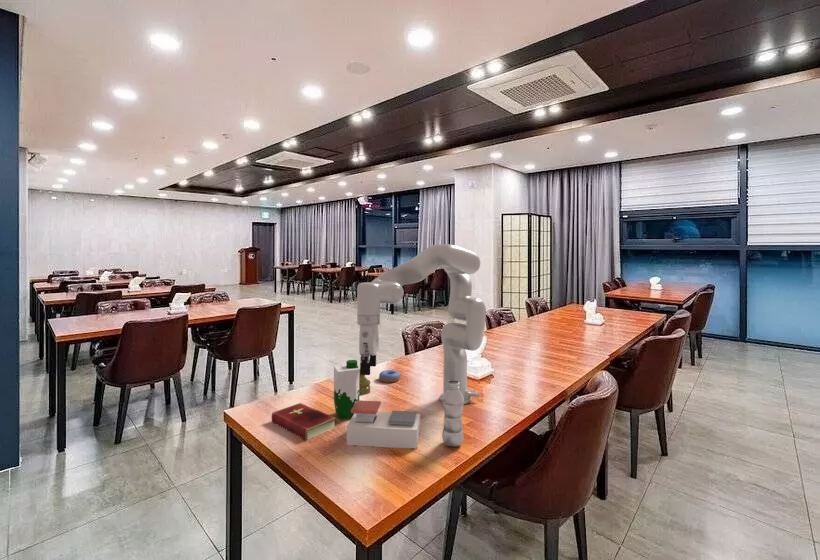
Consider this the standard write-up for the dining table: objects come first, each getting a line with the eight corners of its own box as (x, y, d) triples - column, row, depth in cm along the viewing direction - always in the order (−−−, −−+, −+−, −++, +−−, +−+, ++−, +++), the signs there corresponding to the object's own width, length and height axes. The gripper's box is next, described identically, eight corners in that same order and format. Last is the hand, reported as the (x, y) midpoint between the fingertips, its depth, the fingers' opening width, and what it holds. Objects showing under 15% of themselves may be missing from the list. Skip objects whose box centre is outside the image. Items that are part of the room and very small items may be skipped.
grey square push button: (416, 430, 128) (416, 411, 128) (414, 442, 120) (414, 422, 120) (392, 429, 129) (392, 410, 129) (388, 441, 121) (388, 421, 121)
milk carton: (362, 417, 141) (361, 363, 139) (337, 421, 137) (336, 366, 136) (355, 408, 149) (355, 357, 147) (332, 412, 145) (331, 360, 144)
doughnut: (404, 380, 180) (403, 370, 180) (385, 385, 175) (384, 375, 175) (394, 376, 189) (393, 367, 189) (375, 381, 184) (374, 372, 183)
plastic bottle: (440, 439, 124) (440, 378, 122) (461, 438, 124) (461, 378, 123) (443, 450, 118) (444, 385, 116) (465, 449, 118) (466, 385, 117)
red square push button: (380, 420, 129) (380, 401, 129) (376, 431, 121) (376, 411, 121) (357, 419, 130) (357, 400, 130) (351, 429, 122) (351, 410, 122)
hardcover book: (306, 442, 123) (306, 429, 123) (271, 423, 137) (271, 412, 137) (336, 429, 132) (335, 417, 132) (300, 412, 146) (300, 402, 146)
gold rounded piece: (367, 395, 162) (367, 372, 162) (350, 394, 164) (350, 371, 163) (372, 389, 170) (372, 367, 169) (356, 388, 171) (356, 366, 170)
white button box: (420, 430, 130) (419, 413, 130) (416, 448, 118) (416, 429, 118) (356, 427, 132) (355, 410, 132) (346, 445, 121) (346, 426, 120)
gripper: (374, 324, 119) (374, 378, 120) (384, 315, 136) (383, 363, 137) (350, 323, 120) (350, 377, 121) (363, 315, 137) (363, 362, 138)
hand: (368, 370), depth 129 cm, fingers open, 9 cm apart
